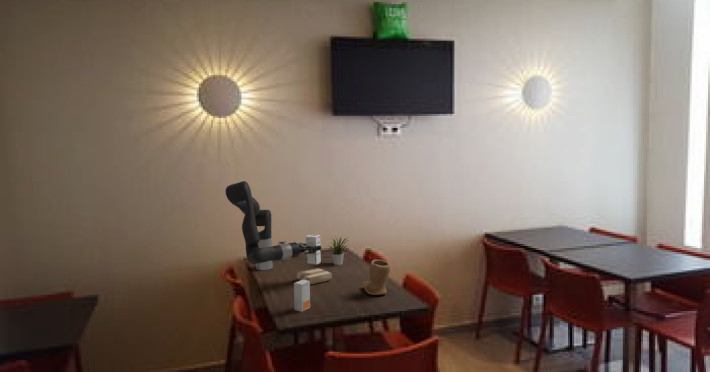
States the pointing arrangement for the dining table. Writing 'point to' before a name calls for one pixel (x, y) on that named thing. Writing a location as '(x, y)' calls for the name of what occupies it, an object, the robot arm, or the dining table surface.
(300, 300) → the skincare box
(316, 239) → the syrup box
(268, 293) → the dining table surface
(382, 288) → the stone cup
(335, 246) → the house plant
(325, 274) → the wood stand
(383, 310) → the dining table surface
